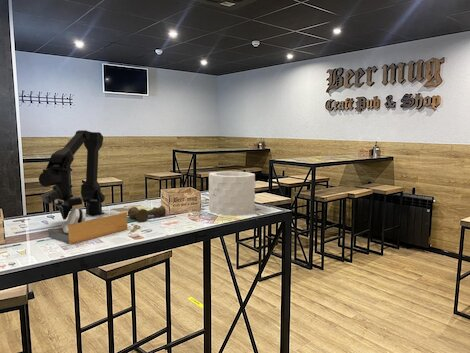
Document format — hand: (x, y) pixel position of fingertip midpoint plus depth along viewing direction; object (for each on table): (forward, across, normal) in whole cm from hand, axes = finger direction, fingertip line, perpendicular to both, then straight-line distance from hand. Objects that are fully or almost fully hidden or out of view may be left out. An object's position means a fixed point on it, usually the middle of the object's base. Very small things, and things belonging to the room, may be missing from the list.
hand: (64, 219), depth 153 cm
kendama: (+4, +17, +29) cm, 34 cm away
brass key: (+3, +28, +14) cm, 32 cm away
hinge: (+3, +9, -2) cm, 10 cm away
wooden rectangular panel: (+3, +17, 0) cm, 17 cm away
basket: (+3, +38, +68) cm, 78 cm away
